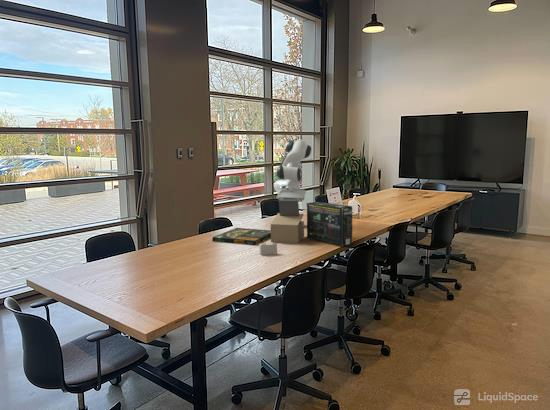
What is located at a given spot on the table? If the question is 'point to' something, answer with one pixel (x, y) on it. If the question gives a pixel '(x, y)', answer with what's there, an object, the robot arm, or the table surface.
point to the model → (268, 249)
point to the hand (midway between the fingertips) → (289, 204)
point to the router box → (329, 223)
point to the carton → (287, 233)
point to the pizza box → (243, 236)
